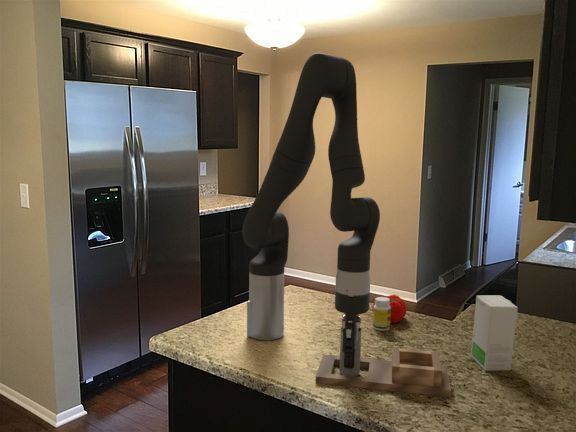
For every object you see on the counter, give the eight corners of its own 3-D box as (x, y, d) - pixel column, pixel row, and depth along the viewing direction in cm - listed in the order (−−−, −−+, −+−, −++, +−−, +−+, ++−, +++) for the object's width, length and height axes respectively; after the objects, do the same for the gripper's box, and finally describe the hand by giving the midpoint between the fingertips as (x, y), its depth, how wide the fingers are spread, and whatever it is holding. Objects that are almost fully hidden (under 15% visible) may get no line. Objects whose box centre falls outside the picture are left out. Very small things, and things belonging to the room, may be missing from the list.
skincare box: (470, 356, 128) (474, 294, 126) (496, 356, 128) (501, 294, 126) (485, 371, 120) (490, 305, 117) (513, 371, 120) (518, 305, 118)
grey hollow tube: (337, 368, 120) (339, 324, 118) (357, 367, 120) (359, 324, 119) (341, 377, 115) (342, 332, 114) (361, 376, 116) (363, 332, 114)
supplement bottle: (389, 331, 144) (391, 302, 143) (372, 330, 145) (373, 300, 143) (390, 325, 148) (391, 297, 147) (373, 324, 149) (374, 295, 148)
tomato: (370, 324, 150) (371, 302, 149) (373, 312, 160) (374, 291, 159) (406, 327, 148) (407, 304, 147) (406, 314, 158) (407, 293, 157)
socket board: (315, 383, 113) (316, 361, 112) (323, 360, 125) (323, 340, 124) (451, 397, 108) (452, 373, 107) (445, 371, 119) (446, 350, 119)
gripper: (338, 279, 122) (336, 348, 125) (331, 297, 109) (329, 375, 111) (371, 281, 121) (368, 351, 124) (368, 300, 107) (365, 379, 110)
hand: (349, 362), depth 117 cm, fingers closed on grey hollow tube, 4 cm apart
